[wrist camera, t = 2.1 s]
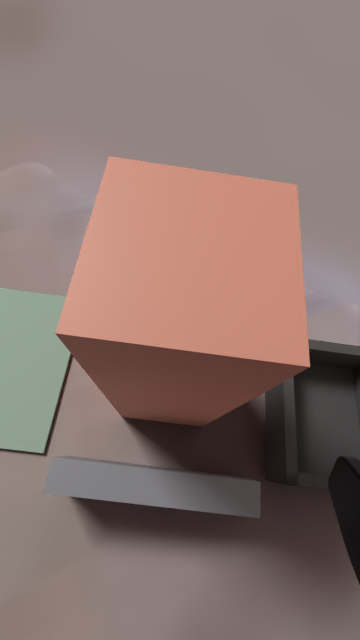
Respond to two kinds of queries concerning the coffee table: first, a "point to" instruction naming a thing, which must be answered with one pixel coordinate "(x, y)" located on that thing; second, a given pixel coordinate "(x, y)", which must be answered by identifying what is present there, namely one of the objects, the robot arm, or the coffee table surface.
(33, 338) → the sage mat
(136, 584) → the coffee table surface
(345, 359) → the dark grey open box
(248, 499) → the grey parallel walls
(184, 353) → the salmon-pink block
